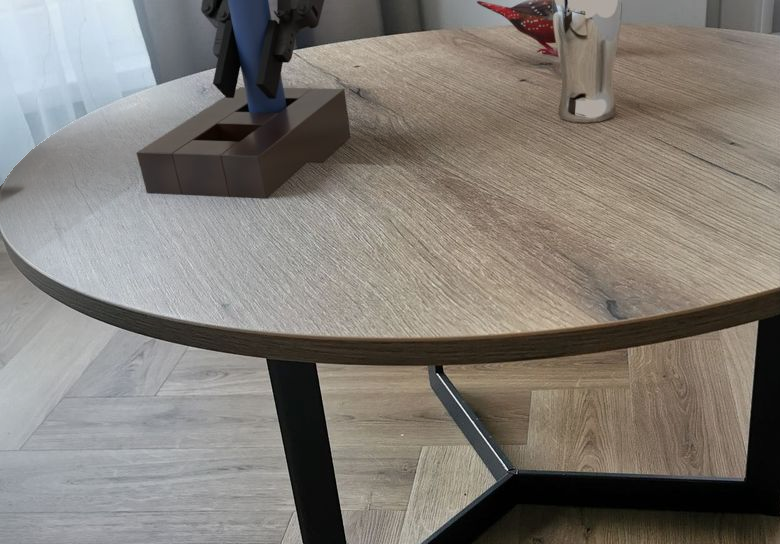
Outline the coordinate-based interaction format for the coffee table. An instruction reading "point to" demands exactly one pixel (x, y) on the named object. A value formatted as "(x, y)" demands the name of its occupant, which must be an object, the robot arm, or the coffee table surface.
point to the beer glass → (587, 57)
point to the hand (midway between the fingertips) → (244, 90)
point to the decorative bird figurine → (530, 20)
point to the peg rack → (246, 145)
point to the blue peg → (254, 51)
